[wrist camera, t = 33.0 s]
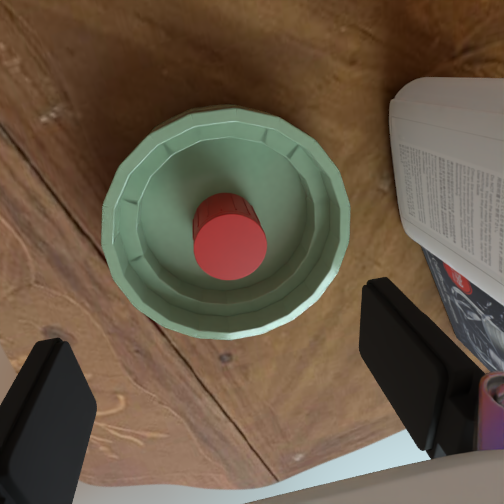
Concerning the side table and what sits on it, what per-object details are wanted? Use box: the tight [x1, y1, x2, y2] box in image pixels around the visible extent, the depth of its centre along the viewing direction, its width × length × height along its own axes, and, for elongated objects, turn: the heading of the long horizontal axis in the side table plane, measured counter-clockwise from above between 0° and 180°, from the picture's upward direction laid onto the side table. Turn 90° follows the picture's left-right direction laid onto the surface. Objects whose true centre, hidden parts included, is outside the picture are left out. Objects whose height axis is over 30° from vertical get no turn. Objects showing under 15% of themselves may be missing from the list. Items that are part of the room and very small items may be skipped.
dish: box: [101, 104, 350, 340], centre depth 20 cm, size 13×13×4 cm
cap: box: [193, 193, 267, 280], centre depth 20 cm, size 4×4×4 cm
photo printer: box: [389, 77, 504, 306], centre depth 17 cm, size 10×4×12 cm, turn 19°
